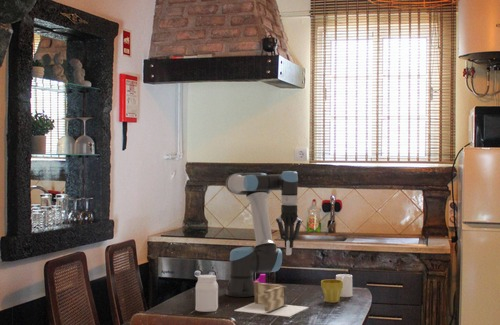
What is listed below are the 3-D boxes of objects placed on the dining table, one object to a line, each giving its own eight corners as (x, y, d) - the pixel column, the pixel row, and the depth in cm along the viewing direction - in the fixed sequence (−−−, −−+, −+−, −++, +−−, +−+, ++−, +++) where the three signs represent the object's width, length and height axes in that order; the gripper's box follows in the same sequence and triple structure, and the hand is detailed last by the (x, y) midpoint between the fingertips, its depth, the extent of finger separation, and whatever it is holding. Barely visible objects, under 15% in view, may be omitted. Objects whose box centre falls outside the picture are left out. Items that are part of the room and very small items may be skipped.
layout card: (234, 311, 317) (234, 310, 317) (256, 302, 337) (256, 301, 337) (289, 317, 305) (289, 316, 305) (308, 307, 324) (308, 306, 324)
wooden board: (283, 303, 328) (283, 284, 328) (287, 304, 327) (287, 285, 327) (263, 311, 312) (263, 291, 312) (267, 311, 311) (267, 291, 311)
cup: (334, 298, 347) (334, 277, 347) (336, 293, 359) (336, 273, 359) (350, 298, 346) (350, 278, 346) (353, 294, 357) (353, 274, 357)
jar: (215, 311, 315) (215, 278, 315) (194, 311, 316) (194, 278, 316) (218, 306, 327) (218, 274, 327) (198, 306, 327) (198, 273, 327)
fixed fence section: (253, 303, 333) (253, 281, 333) (255, 302, 335) (255, 281, 335) (280, 305, 326) (280, 284, 326) (282, 305, 328) (282, 283, 328)
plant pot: (321, 303, 334) (321, 282, 334) (320, 299, 345) (320, 279, 345) (343, 303, 334) (343, 282, 334) (341, 299, 344) (341, 279, 344)
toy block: (265, 287, 379) (265, 273, 379) (265, 289, 372) (265, 275, 372) (237, 287, 379) (237, 273, 379) (236, 289, 373) (236, 275, 373)
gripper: (273, 204, 330) (272, 254, 330) (298, 205, 324) (298, 256, 324) (280, 203, 336) (279, 252, 337) (305, 204, 330) (304, 254, 331)
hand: (288, 254), depth 331 cm, fingers closed
